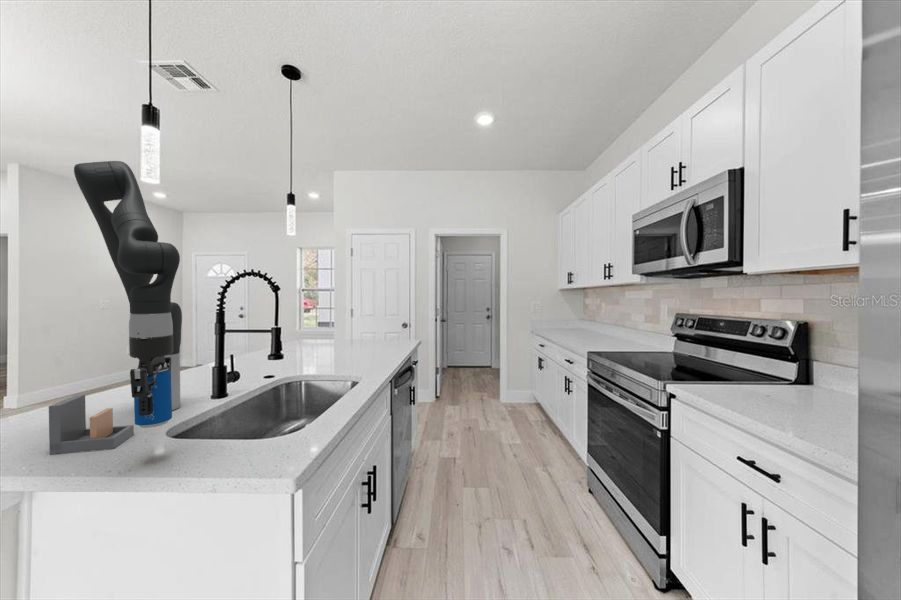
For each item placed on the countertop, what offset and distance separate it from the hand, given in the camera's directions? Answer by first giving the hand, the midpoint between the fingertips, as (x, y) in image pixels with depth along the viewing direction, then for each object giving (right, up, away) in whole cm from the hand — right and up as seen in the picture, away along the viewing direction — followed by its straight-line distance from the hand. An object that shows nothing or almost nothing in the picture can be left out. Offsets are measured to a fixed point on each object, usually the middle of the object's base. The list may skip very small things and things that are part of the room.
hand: (153, 409), depth 84 cm
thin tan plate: (-19, -9, +9) cm, 23 cm away
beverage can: (0, -3, 0) cm, 3 cm away
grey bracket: (-21, -11, +8) cm, 25 cm away
